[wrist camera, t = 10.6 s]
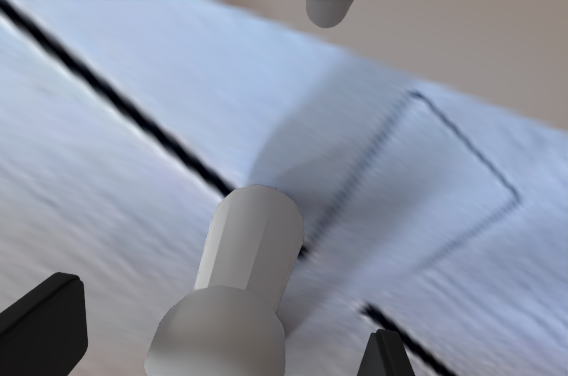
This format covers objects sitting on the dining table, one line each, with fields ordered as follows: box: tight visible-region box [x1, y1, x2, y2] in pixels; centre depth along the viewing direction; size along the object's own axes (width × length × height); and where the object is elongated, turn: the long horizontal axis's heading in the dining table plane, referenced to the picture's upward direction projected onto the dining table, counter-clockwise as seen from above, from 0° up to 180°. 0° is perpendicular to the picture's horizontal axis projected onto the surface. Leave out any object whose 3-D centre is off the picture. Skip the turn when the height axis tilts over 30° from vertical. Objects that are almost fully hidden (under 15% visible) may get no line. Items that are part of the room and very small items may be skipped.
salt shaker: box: [144, 184, 304, 376], centre depth 14 cm, size 6×6×13 cm
